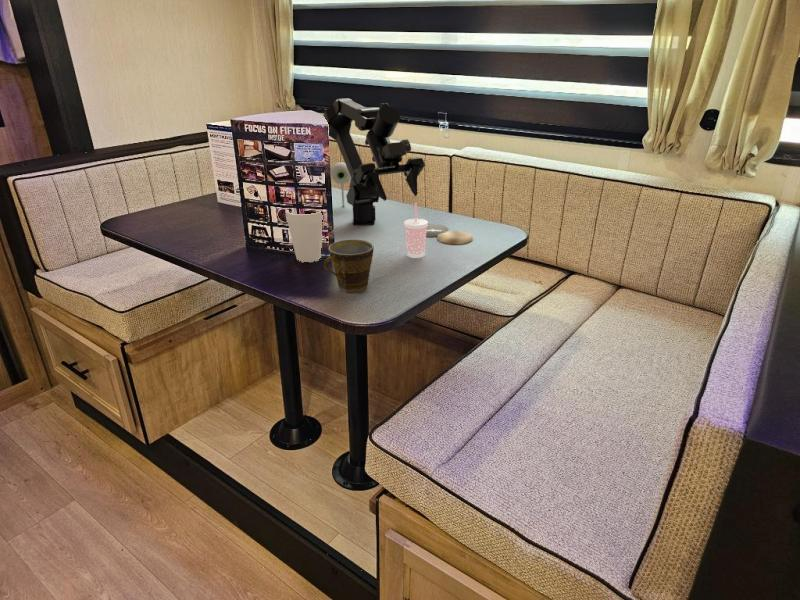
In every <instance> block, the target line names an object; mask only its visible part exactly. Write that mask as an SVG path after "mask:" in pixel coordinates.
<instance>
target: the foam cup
mask: <svg viewBox="0 0 800 600" xmlns="http://www.w3.org/2000/svg"><path fill="white" fill-rule="evenodd" d="M284 212H285V218H286V219H285V220H286V222H287V224H288V225H287V226H288V228H289V233H290V238H291V240H292V241H291V242H292V246H293V250H294V254H295V257H296V260H297V261H298V260H299V261H298V262H300V261H301V262H300V263H304V262H309V263H314V261H315V262H318V261H320V260H321V259H320V258H322V254H321V248H322V249H323V236H322V220H323V221H324V219H323V215H322V213H321V211H319V212H316V213H311V214H292V213H289V210H286V209H285V211H284ZM319 259H320V260H319Z"/></svg>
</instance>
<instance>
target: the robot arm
mask: <svg viewBox="0 0 800 600" xmlns="http://www.w3.org/2000/svg"><path fill="white" fill-rule="evenodd" d="M323 116H324V117H325V119H326V120H327V122H328V124H329V135H328V136H329V138H332V139H333V140H334V141H335V142H336V144H337V146H338V148H339V152H340V154H341V156H342V159H343V161H344V163H345V164H346V166H347V169H348V171H349V173H350V176H351V180H350V181H349V186H348V187H349V189H348V191H347V193H346V202H347V204H349V205H350V206H352V220H353V221H352V225H354V226H358V225H359V226H361V225H362V226H364V225H374V224H375V222H376V221H377V218H376V206H375V205H374V203H379V200H380V199H382V200H383V202H384V201H387V199H388V198H387V194H386V193H385V190H384V188H383V185H382V182H381V180H380V176H382V175H383V176H384V175H393V174H401V173H403V175H404V177H406V178H405V181H406V183H407V185H408V187H409V188H410V190H411V193H412V194H413V196H414V197H417V196H418V177H419V176H420V174H421V172H422V171H423V170H424V167H425V166H426V163H425V161H424V159H423V158H422V157H419V156H418V157H410V158H408V159H407V161H406V163H405V164H400V163H402V161H403V156H406V155H407V154H408V153H410V152H411V150H412V147H411V146H412V144H411V142H410V141H409V139H408V138H407V139H402V140H401V141H399V142H398V141H397V142H391V140H390V137H391V136H392V135H393V134H394V132H395V130H396V127H397V126H398V123H399V122H400V119H401V115H400V113H399V112H398V111H397V110H396V109H395V108H393V107H392V106H389V104H388V103H387V102H386V103H380V105H379V107H366V106H363V105H361V104H360V103H357V102H355V101H353V99H351V98H348V97H347V98H336V99H335V100H334V101H333V103H332V105H331V106H329V107H328V108H327V109H326V110H325V111H324V113H323ZM323 116H322V117H323ZM353 121H354V126H355V127H356V128H357V129H358V130H359V131H361V132H362V131H363V132H364V131H367V133H366V134H365V135H366V136H365V140H364V144H365V145H366V146H369V148H370V149H369V150H370V152H371V153H372V158H371V160H372V162H369V163H368V162H367V163H363V161H362V159H361V157H360V155H359V152H358V149H357V146H356V144H355V142H354V140H353V137H352V135H351V127H352V122H353ZM374 162H375V163H374ZM376 166H377V167H376Z"/></svg>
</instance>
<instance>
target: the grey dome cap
mask: <svg viewBox="0 0 800 600" xmlns="http://www.w3.org/2000/svg"><path fill="white" fill-rule="evenodd" d="M447 231H449V228H448V227H447V226H446V225H442V224H436V223H434V224H433V223H430V224H429V223H428V226H427V230H426V238H427V237H429V238H433V237H435V238H437V237H436V236H437V235H438V234H440V233H441V234H442V233H443V232H447Z"/></svg>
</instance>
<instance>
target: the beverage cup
mask: <svg viewBox="0 0 800 600" xmlns="http://www.w3.org/2000/svg"><path fill="white" fill-rule="evenodd" d="M417 206H418V203H417V202H414V218H408V219H405V220H404V222H403V224H404V228H405V239H406V240H405V241H406V242H405V243H406V255H407V257H409V258H411V259H419V258H423V257H425V255H426V241H427V237H426V230H427V226H428V224H429V222H428V220H426V219H425V218H418V207H417Z"/></svg>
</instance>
